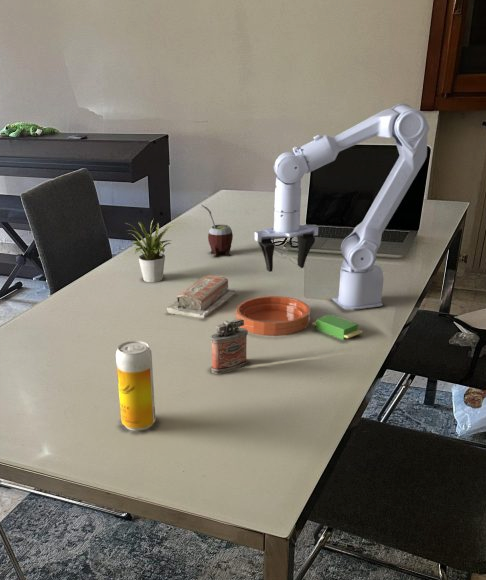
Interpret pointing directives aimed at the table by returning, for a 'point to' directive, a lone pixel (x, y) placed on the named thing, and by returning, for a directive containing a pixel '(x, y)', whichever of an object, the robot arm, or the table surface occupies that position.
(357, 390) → the table surface
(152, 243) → the house plant
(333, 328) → the eraser with green sleeve
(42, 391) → the table surface
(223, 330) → the lighter
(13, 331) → the table surface
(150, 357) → the beer can
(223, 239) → the mate gourd
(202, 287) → the packaged product
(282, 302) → the bowl
